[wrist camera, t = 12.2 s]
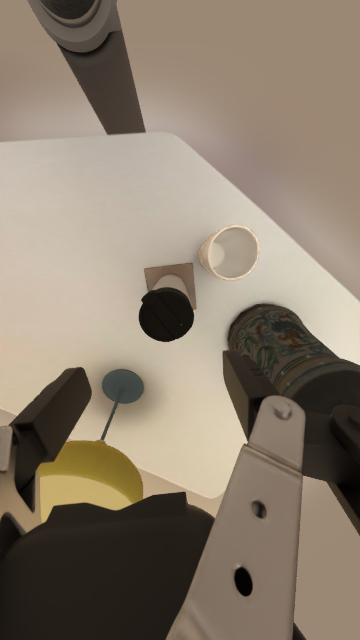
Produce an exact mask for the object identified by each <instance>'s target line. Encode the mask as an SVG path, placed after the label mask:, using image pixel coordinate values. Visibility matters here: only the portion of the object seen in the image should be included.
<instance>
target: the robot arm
mask: <svg viewBox="0 0 360 640" xmlns="http://www.w3.org/2000/svg"><path fill="white" fill-rule="evenodd" d="M38 1H39V2H40V4H41V6H42V7H43V9H44V10H45V11H46V12H47V14H48V15H49V16H50V17H51V18H52V19H54V20H55V21H56V22H58V23H59V24H61V25H63V26H66V27H70V28H78V27H82V26H84V25H86V24H87V23H89V22H90V21H91V20H92V19H93V17H94V16H95V15H96V13H97V11H98V9H99V6H100V3H101V0H38ZM223 375H224V381H225V385H226V387H227V390H228V393H229V395H230V398H231V400H232V403H233V405H234V408H235V410H236V413H237V415H238V418H239V421H240V423H241V426H242V428H243V431H244V433H245V436H246V438H247V441H248V443H247V444H243V446H242V448H241V450H240V453H239V455H238V458H237V461H236V464H235V466H234V469H233V472H232V475H231V477H230V480H229V483H228V485H227V488H226V491H225V494H224V496H223V499H222V502H221V504H220V507H219V510H218V513H217V515H216V518H214V517H213V516H212V515H210V514H209V513H207V512H205V511H204V510H203V509H200V508H198V507H196V506H193V505H190V504H188V503H187V498H186V492H178V493H168V494H159V495H152V496H150V497H147V498H145V499H143V500H141V501H138V502H136V503H134V504H131V505H129V506H127V507H124V508H122V509H120V510H111V509H108V508H104V507H101V506H97V505H94V504H90V503H87V502H83V503H74V504H64V505H55V506H53V508H52V510H51V512H50V514H49V516H48V518H47V520H46V522H44V523H42V521H41V507H40V474H39V472H38V470H37V469H38V467H39V465H40V464H41V463H49V462H54V461H55V459H56V457H57V456H58V454H59V452H60V451H61V449H62V447H63V445H64V444H65V442H66V440H67V439H68V437H69V435H70V433H71V432H72V430H73V428H74V427H75V425H76V423H77V422H78V420H79V418H80V416H81V415H82V413H83V411H84V410H85V408H86V406H87V405H88V403H89V401H90V399H91V395H92V390H91V387H90V384H89V381H88V378H87V376H86V373H85V370H84V369H83V368H82V367H77V368H69V369H66V370H65V371H64V372H63V373H62V374H61V375H60V376H59V377H58V378H57V379H56V380H55V381H53V382H52V383H50V384H49V385H47V386H46V387H45V388H44V389H43V390H42V392H41V393H40V395H38V396H37V397H36V398H35V399H34V400H33V401H32V402H31V403H30V404H29V405H28V406H27V407H26V408H25V409H24V410H23V411H22V412H21V413H20V414H19V415H18V416H17V417H16V418H15V419H14V420H13V421H12V422H11V423H10V424H9V425H8V426H1V427H0V640H306V638H305V637H304V636H303V634H302V633H301V631H300V630H299V629H298V627H297V626H296V625H295V623H294V607H295V592H296V577H297V560H298V545H299V531H300V515H301V499H302V483H303V476H307V477H311V478H315V479H319V480H323V481H326V482H327V483H328V485H329V487H330V488H331V490H332V491H333V493H334V495H335V496H336V497H337V500H338V501H339V503H340V504H341V506H342V508H343V509H344V511H345V513H346V514H347V516H348V518H349V519H350V521H351V522H352V524H353V526H354V527H355V529H356V530H357V532H358V533H359V535H360V408H359V407H356V406H352V405H338V406H335V407H334V408H333V409H332V413H331V415H328V414H322V413H315V412H309V411H305V410H303V409H302V408H301V407H300V406H299V405H298V404H297V403H296V402H294V401H292V400H291V399H288V398H286V397H282V396H281V395H280V393H279V392H278V391H277V389H276V388H275V387H274V385H273V384H272V383H271V381H270V380H269V379H268V377H267V376H266V375H265V374H264V372H263V371H262V370H261V368H260V367H259V366H258V364H257V363H256V362H255V361H253V360H252V359H250V358H248V357H244V358H242V356H241V355H240V353H239V352H238V350H237V349H235V350H226V351H223Z"/></svg>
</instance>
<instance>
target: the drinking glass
mask: <svg viewBox="0 0 360 640" xmlns="http://www.w3.org/2000/svg"><path fill="white" fill-rule="evenodd" d="M258 257H259V243H258V240H257V237H256V236H255V234H254V233H253V232H252V231H251V230H250V229H249V228H247V227H245V226H242V225H230V226H227V227H224V228H222V229H220V230H218V231H217V232H215V233H214V234H212V235H211V236H210V237H209V238H208V240H207V241H206V242H205V244H203V245H202V247H201V248H200V250H199V261H200V263H201V264H202V266H204V267H205V268H206V269H207V270H208V271H209V272H210V273H211V274H212V275H214V276H216V277H218V278H221V279H224V280H237V279H240V278H242V277H244V276H246V275H247V274H248V273H250V272H251V270H252V269H253V268H254V266H255V265H256V263H257V260H258Z"/></svg>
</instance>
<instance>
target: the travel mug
mask: <svg viewBox="0 0 360 640" xmlns="http://www.w3.org/2000/svg"><path fill="white" fill-rule="evenodd" d="M141 301H142V302H143V304H142V306H141V308H140V311H139V322H140V325H141V327H142V329H143V331H144V332H145V333H146V334H147V335H148V336H149V337H151V338H153V339H155V340H157V341H162V342H169V341H173V340H175V339H179V338H180V337H182V336H184V335H185V334H186V333H187V332H188V331H189V329H190V328H191V327H192V324H193V321H194V312H193V309H192V304H191V301H190V298H189V296H188V293H187V290H186V287H185V284H184V282H183V280H182V279H181V278H180V277H178V276H176V275H173V274H168V275H165V276H163V277H161V278H160V279H159V281H158V282H157V284H156V285H155V286H154V288H153V289H152V290H151V291H150V292H148V293H147V294H146V295H144V296H143V298H142V299H141Z"/></svg>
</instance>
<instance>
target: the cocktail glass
mask: <svg viewBox="0 0 360 640" xmlns="http://www.w3.org/2000/svg"><path fill="white" fill-rule="evenodd" d="M102 389H103V392H104V393H105V395H106V396H107V397H108V398H109V399H111V400H112V401H114V402H115V404H114V407H113V410H112V412H111V415H110V417H109V420H108V422H107V425H106V427H105V430H104V432H103V434H102V437H101V439H100V440H97V441H95V442H93V441H70V442H65V444H64V445H63V447H62V449H61V451H60V452H59V454H58V456H57V457H56V459H55V461H54V462H49V463H41V464H40V465H39V467H38V469H37V470H38V472H39V474H40V507H41V521H42V523H44V522H46V520H47V518H48V516H49V514H50V512H51V510H52V508H53V506H55V505H64V504H74V503H83V502H87V503H90V504H94V505H97V506H101V507H104V508H108V509H111V510H120V509H122V508H124V507H127V506H129V505H131V504H134V503H136V502H138V501H141V500H143V483H142V479H141V476H140V474H139V472H138V470H137V468H136V467H135V465H134V464H133V463H132V462H131V460H130V459H129V458H128V457H126V456H125V455H124V454H123V453H122V452H120V451H119V450H117V449H115V448H113V447H111V446H108V445H107V444H106V443H105V441H104V438H105V436H106V433H107V430H108V428H109V425H110V423H111V420H112V418H113V415H114V413H115V410H116V408H117V405H118V403H123V404H126V403H132V402H134V401H136V400H138V399H139V398H140V397H141V395H142V393H143V390H144V386H143V382H142V380H141V379H140V377H139V376H137V375H136V374H135V373H133V372H131V371H128V370H115V371H112V372H110V373H109V374H107V375H106V376H105V378H104V379H103V382H102Z"/></svg>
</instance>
